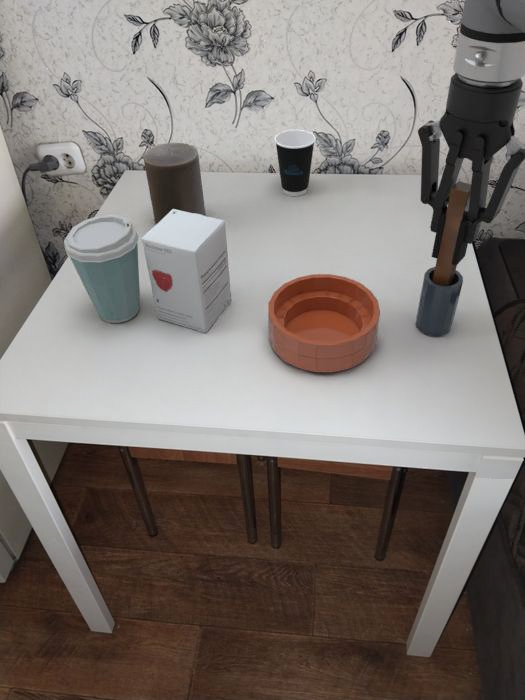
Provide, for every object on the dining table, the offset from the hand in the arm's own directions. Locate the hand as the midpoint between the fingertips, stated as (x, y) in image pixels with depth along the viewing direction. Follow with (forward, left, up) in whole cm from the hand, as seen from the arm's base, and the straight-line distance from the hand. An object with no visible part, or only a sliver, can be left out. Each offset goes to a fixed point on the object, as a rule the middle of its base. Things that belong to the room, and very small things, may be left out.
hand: (448, 256), depth 80 cm
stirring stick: (0, 0, -12) cm, 12 cm away
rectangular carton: (+32, +18, -13) cm, 39 cm away
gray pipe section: (0, 0, -12) cm, 12 cm away
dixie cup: (+41, -22, -13) cm, 48 cm away
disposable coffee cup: (+42, +25, -13) cm, 50 cm away
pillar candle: (+52, 0, -13) cm, 54 cm away
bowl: (+12, +12, -12) cm, 21 cm away
